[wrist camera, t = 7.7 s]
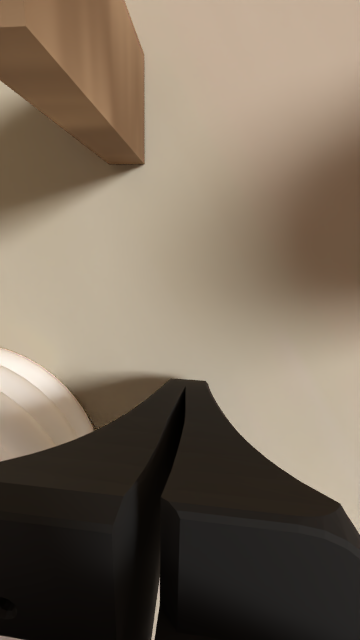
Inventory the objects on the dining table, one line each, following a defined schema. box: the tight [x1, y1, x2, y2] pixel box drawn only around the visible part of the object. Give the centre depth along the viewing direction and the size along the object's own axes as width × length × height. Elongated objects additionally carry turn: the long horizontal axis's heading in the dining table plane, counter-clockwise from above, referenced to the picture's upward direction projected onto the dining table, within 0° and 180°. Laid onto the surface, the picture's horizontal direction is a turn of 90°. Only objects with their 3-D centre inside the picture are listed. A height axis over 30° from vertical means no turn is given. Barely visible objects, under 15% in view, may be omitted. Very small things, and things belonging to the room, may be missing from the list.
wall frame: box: [0, 0, 144, 164], centre depth 8 cm, size 22×1×7 cm, turn 178°
